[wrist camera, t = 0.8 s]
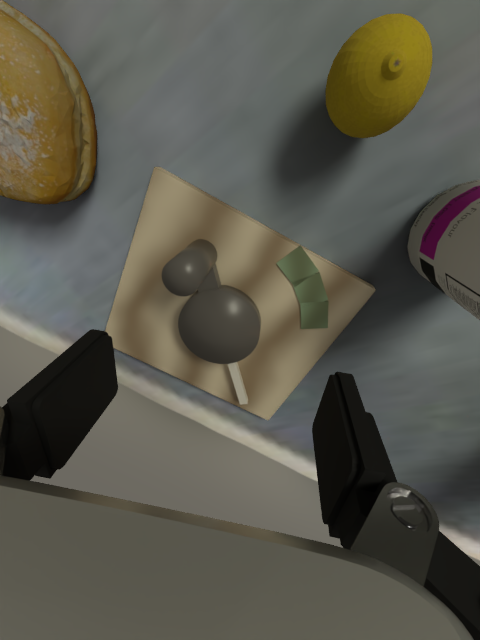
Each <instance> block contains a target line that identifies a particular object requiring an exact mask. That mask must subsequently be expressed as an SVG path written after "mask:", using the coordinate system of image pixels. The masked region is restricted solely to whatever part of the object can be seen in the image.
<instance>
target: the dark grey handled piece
mask: <svg viewBox="0 0 480 640" xmlns="http://www.w3.org/2000/svg"><path fill="white" fill-rule="evenodd" d="M216 261H217V251H216V248H215V247H214V245H213V244H212V243H210V242H209V241H207V240H204V239H198V240H195V241H193V242H192V243H191V244H189V245H188V246H187V247H186V248H185V249H183V250H182V251H181V252H180V253H179V254H177V255H176V256H175V257H174V258H172V259H171V260H170V261H169V262H168V263H166V264H165V266H164V267H163V269H162V281H163V284H164V285H165V287H166V288H167V289H168V290H169V291H170V292H171V293H173V294H175V295H177V296H189V295H191V294H193V293H194V292H195V291H196V290H197V289H198V291H196V292H195V293H194V294H193V295H192V296H191V297H190V298H189V300H188V301H187V302H186V304H185V305H184V307H183V308H182V310H181V312H180V315H179V319H178V329H179V333H180V336H181V339H182V341H183V342H184V344H185V345H186V347H187V348H188V349H189V350H190V351H191V352H192V353H194V354H195V355H196V356H198V357H199V358H201V359H203V360H206V361H208V362H212V363H217V364H228V367H229V370H230V374H231V377H232V380H233V383H234V387H235V390H236V393H237V397H238V400H239V403H240V405H242V404H248V397H247V394H246V390H245V387H244V383H243V380H242V376H241V373H240V369H239V366H238V361H240V360H243V359H244V358H246V357H247V356H249V355H250V354H251V353H252V352H253V350H254V349H255V348H256V346H257V344H258V341H259V336H260V329H261V317H260V313H259V310H258V308H257V306H256V304H255V303H254V302H253V300H252V299H251V298H250V297H249V296H248V295H247V294H245V293H244V292H243V291H241V290H239V289H237V288H234V287H231V286H228V285H221V281H220V278H219V274H218V270H217V267H216Z"/></svg>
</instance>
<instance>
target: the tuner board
mask: <svg viewBox="0 0 480 640" xmlns="http://www.w3.org/2000/svg"><path fill="white" fill-rule="evenodd" d="M198 239H204V240H207V241H209V242H210V243H212V244H213V245H214V247H215V248H216V251H217V261H216V267H217V270H218V274H219V278H220V281H221V285H228V286H231V287H234V288H237V289H239V290H241V291H243V292H244V293H245V294H247V295H248V296H249V297H250V298H251V299H252V300H253V302H254V303H255V304H256V306H257V308H258V310H259V313H260V317H261V329H260V336H259V341H258V344H257V346H256V348H255V349H254V350H253V352H252V353H251V354H250V355H249V356H247V357H246V358H244V359H243V360H240V361H238V366H239V369H240V373H241V376H242V380H243V383H244V387H245V390H246V394H247V397H248V404H242V405H240V403H239V400H238V397H237V393H236V390H235V387H234V383H233V380H232V377H231V374H230V370H229V367H228V364H217V363H212V362H208V361H206V360H203V359H201V358H199V357H198V356H196V355H195V354H194V353H192V352H191V351H190V350H189V349H188V348H187V347H186V345H185V344H184V342H183V341H182V339H181V336H180V333H179V329H178V319H179V315H180V312H181V310H182V308H183V307H184V305H185V304H186V302H187V301H188V300H189V298H190V297H191V296H192V295H193V294H194V293H195V292H196V291H198V289H197V290H196V291H195V292H194V293H193V294H191V295H189V296H177V295H175V294H173V293H171V292H170V291H169V290H168V289H167V288H166V287H165V285H164V284H163V281H162V269H163V267H164V266H165V264H166V263H168V262H169V261H170V260H171V259H172V258H174V257H175V256H176V255H177V254H179V253H180V252H181V251H182V250H183V249H185V248H186V247H187V246H188V245H189V244H191V243H192V242H193V241H195V240H198ZM375 291H376V289H375V288H374V287H373V285H371V284H369V283H368V282H366V281H364V280H362V279H360V278H359V277H357V276H355V275H353V274H351V273H350V272H348V271H346V270H344V269H342V268H341V267H339V266H337V265H335V264H333V263H332V262H330V261H328V260H326V259H324V258H323V257H321V256H319V255H317V254H315V253H314V252H312V251H310V250H308V249H306V248H305V247H303V246H301V245H299V244H297V243H296V242H294V241H292V240H290V239H288V238H287V237H285V236H283V235H281V234H279V233H278V232H276V231H274V230H272V229H270V228H269V227H267V226H265V225H263V224H261V223H260V222H258V221H256V220H254V219H252V218H251V217H249V216H247V215H245V214H243V213H242V212H240V211H238V210H236V209H234V208H233V207H231V206H229V205H227V204H225V203H224V202H222V201H220V200H218V199H216V198H215V197H213V196H211V195H209V194H207V193H206V192H204V191H202V190H200V189H199V188H197V187H195V186H193V185H191V184H190V183H188V182H186V181H184V180H182V179H181V178H179V177H177V176H175V175H173V174H172V173H170V172H168V171H166V170H164V169H163V168H161V167H154V170H153V174H152V177H151V180H150V184H149V187H148V190H147V194H146V197H145V200H144V204H143V207H142V210H141V214H140V217H139V220H138V224H137V227H136V230H135V234H134V237H133V240H132V244H131V247H130V250H129V254H128V257H127V260H126V264H125V267H124V270H123V274H122V277H121V280H120V283H119V287H118V290H117V293H116V297H115V300H114V303H113V307H112V310H111V313H110V317H109V320H108V323H107V327H106V330H105V332H107V333H108V335H109V336H111V337H112V341H113V348H115V349H117V350H119V351H122V352H124V353H126V354H128V355H130V356H132V357H134V358H136V359H139V360H141V361H143V362H145V363H147V364H149V365H151V366H153V367H155V368H158V369H160V370H162V371H164V372H166V373H168V374H170V375H172V376H175V377H177V378H179V379H181V380H183V381H185V382H187V383H189V384H192V385H194V386H196V387H198V388H200V389H202V390H204V391H206V392H209V393H211V394H213V395H215V396H217V397H219V398H221V399H223V400H226V401H228V402H230V403H232V404H234V405H236V406H238V407H240V408H243V409H245V410H247V411H249V412H251V413H253V414H255V415H257V416H260V417H262V418H264V419H266V420H269V419H270V418H271V417H272V415H273V414H274V413H275V412H276V411H277V409H278V408H279V407H280V406H281V404H282V403H283V402H284V401H285V400H286V398H287V397H288V396H289V395H290V394H291V392H292V391H293V390H294V389H295V388H296V386H297V385H298V384H299V383H300V382H301V380H302V379H303V378H304V377H305V375H306V374H307V373H308V372H309V371H310V369H311V368H312V367H313V366H314V365H315V363H316V362H317V361H318V360H319V359H320V357H321V356H322V355H323V354H324V353H325V351H326V350H327V349H328V348H329V346H330V345H331V344H332V343H333V342H334V340H335V339H336V338H337V337H338V336H339V334H340V333H341V332H342V331H343V330H344V328H345V327H346V326H347V325H348V323H349V322H350V321H351V320H352V319H353V317H354V316H355V315H356V314H357V313H358V311H359V310H360V309H361V308H362V307H363V305H364V304H365V303H366V302H367V301H368V299H369V298H370V297H371V296H372V294H373V293H374V292H375Z"/></svg>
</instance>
